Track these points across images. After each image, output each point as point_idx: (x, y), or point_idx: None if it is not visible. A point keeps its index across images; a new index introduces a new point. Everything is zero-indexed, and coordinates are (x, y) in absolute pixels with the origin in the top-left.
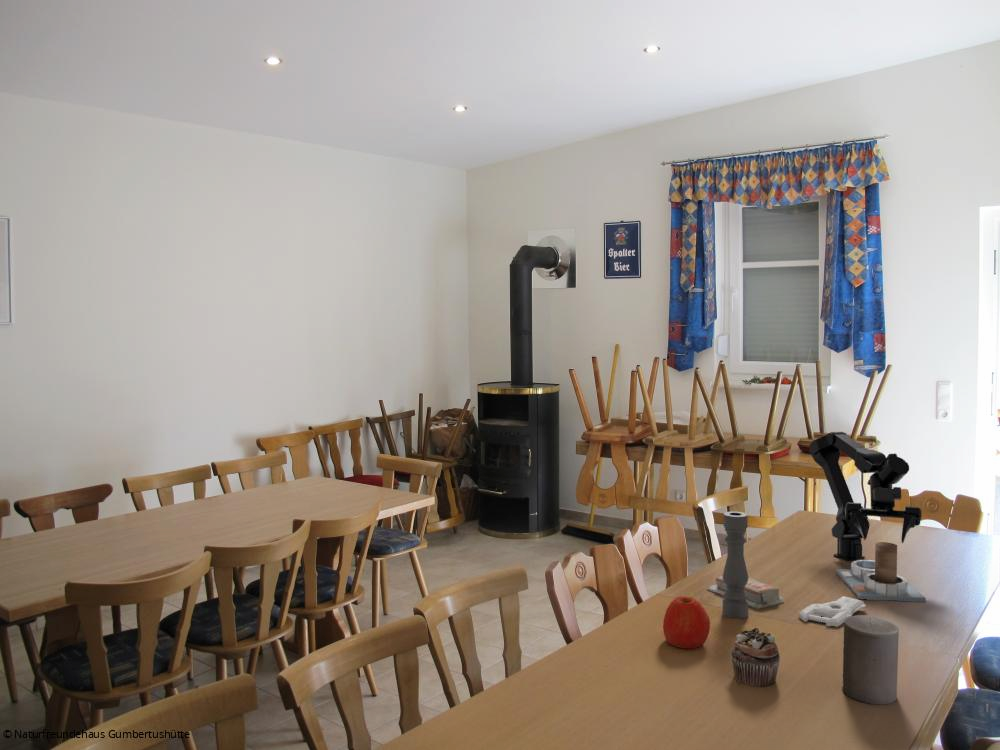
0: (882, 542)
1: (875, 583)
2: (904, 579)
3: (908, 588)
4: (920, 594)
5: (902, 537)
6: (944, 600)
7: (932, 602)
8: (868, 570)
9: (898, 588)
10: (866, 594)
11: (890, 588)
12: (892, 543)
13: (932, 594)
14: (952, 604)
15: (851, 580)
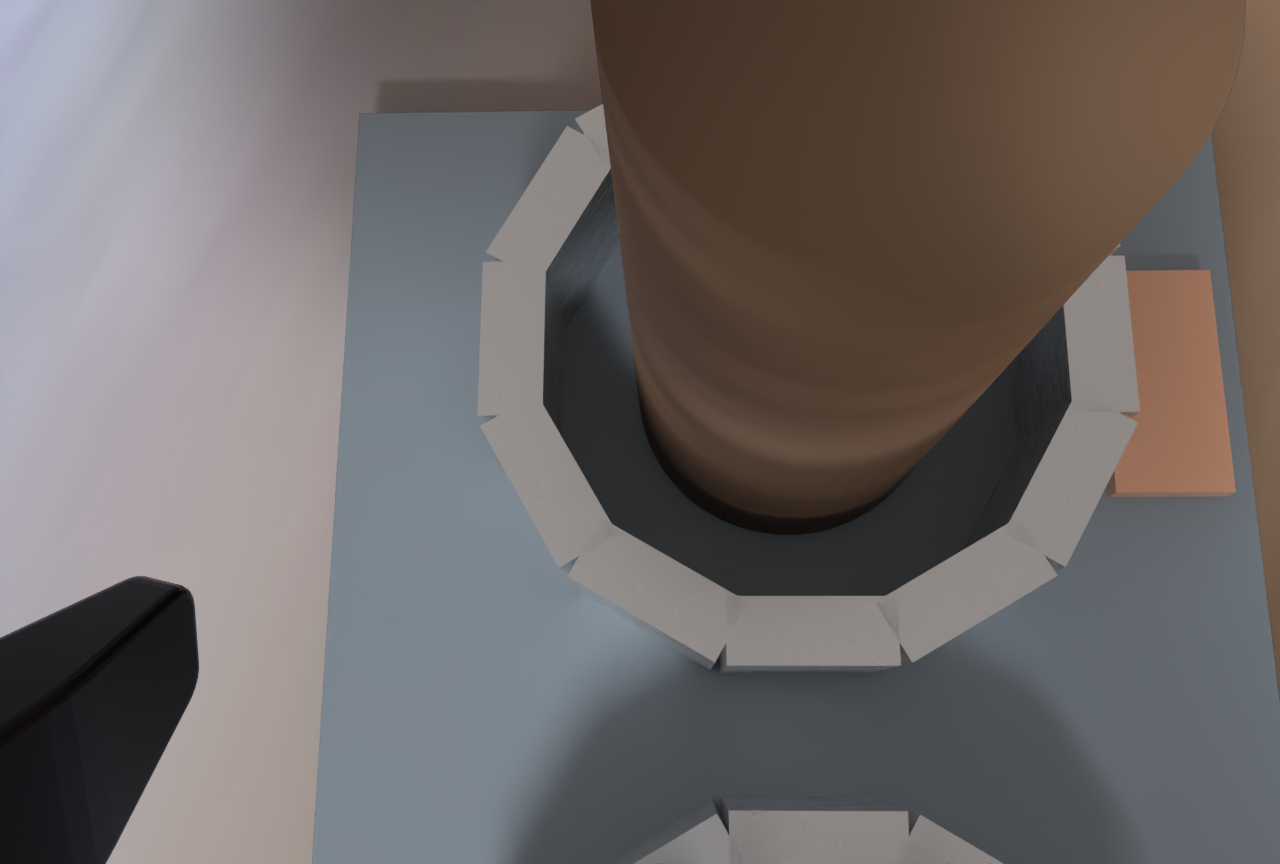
0: (960, 244)
1: None
2: (506, 323)
3: (431, 485)
4: (370, 240)
5: (91, 649)
6: (114, 216)
7: (298, 128)
8: (967, 847)
9: None
10: None
11: None
12: (661, 153)
13: (154, 437)
14: (90, 84)
15: (1200, 816)
